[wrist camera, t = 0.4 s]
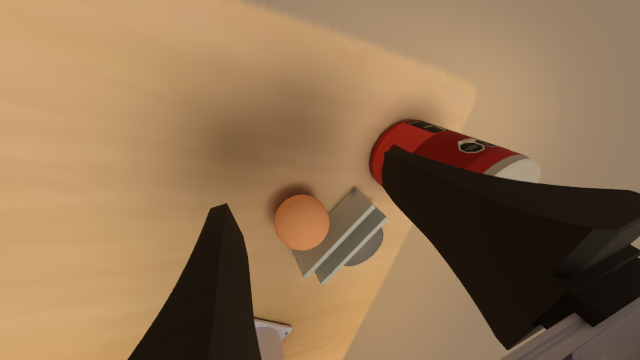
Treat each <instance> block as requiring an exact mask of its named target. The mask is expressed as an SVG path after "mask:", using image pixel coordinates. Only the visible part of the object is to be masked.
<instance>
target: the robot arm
mask: <svg viewBox="0 0 640 360" xmlns="http://www.w3.org/2000/svg"><path fill="white" fill-rule="evenodd" d="M382 187H383V188H384V190H385V191H386V192H387V194H388V195H389V197H390V198H391V199H392V201H393V202H394V203H395V204H396V205H397V206H398V208H399V209H400V210H401V211H402V212H403V213H404V214H405V215H406V216H407V217H408V218H409V219H410V220H411V221H412V222H413V223H414V224H415V225H416V227H417V228H419V230H420V231H421V232H422V233H423V234H424V235H425V236H426V237H427V238H428V239H429V241H430V242H431V243H432V244H433V245H434V247H435V248H436V249H437V250H438V252H439V253H440V254H441V256H442V257H443V258H444V259H445V261H446V262H447V263H448V265H449V266H450V267H451V269H452V270H453V272H454V273H455V274H456V276H457V277H458V278H459V280H460V281H461V283H462V284H463V286H464V287H465V289H466V290H467V292H468V293H469V295H470V296H471V298H472V299H473V301H474V302H475V304H476V305H477V307H478V309H479V310H480V312H481V313H482V315H483V317H484V318H485V320H486V321H487V323H488V325H489V326H490V328H491V330H492V331H493V333H494V335H495V337H496V338H497V339H498V340H499V341H500V343H502V345H503V346H504V347H505V348H506V349H507V350H510V349H511V348H513V347H514V346H516V345H517V344H519V343H520V342H522V341H524V340H525V339H527V338H529V337H530V336H532V335H534V334H535V333H537V332H538V331H540V330H541V329H543V328H545V329H546V331H544V332H543V333H541V334H539V335H538V336H536V337H535V338H533V339H532V340H530V341H529V342H527V343H525V344H524V345H522V346H521V347H519V348H517V349H516V350H514V351H513V352H511V353H509V354H508V355H506V356H505V357H503V358H501V359H500V360H640V258H638V256H640V250H639V249H637V248H635V247H634V246H632V245H630V244H631V243H632V242H633V241H634V240H636V239H637V238H638V237H639V236H640V194H639V193H637V192H633V191H630V190H615V189H598V188H579V187H569V186H558V185H548V184H540V183H533V182H526V181H519V180H513V179H507V178H502V177H497V176H492V175H487V174H483V173H478V172H474V171H470V170H467V169H463V168H459V167H456V166H452V165H449V164H445V163H442V162H439V161H436V160H433V159H430V158H427V157H423V156H420V155H417V154H414V153H411V152H408V151H404V150H401V149H397V148H395V149H392V150H389V151H386V152H384V164H383V179H382ZM291 331H292V327H291V326H288V325H283V324H278V323H273V322H268V321H263V320H258V319H254V315H253V306H252V295H251V284H250V273H249V263H248V255H247V251H246V246H245V242H244V237H243V235H242V233H241V231H240V229H239V227H238V225H237V223H236V221H235V219H234V217H233V215H232V213H231V211H230V209H229V207H228V205H227V203H226V204H223V205H220V206H216V207H213V208H211V209H210V211H209V213H208V216H207V218H206V221H205V224H204V226H203V229H202V231H201V233H200V236H199V238H198V240H197V243H196V245H195V247H194V249H193V252H192V254H191V256H190V258H189V260H188V262H187V264H186V266H185V268H184V270H183V272H182V274H181V276H180V278H179V280H178V282H177V284H176V285H175V287H174V289H173V291H172V292H171V294H170V296H169V298H168V299H167V301H166V303H165V304H164V306H163V308H162V309H161V311H160V312H159V314H158V316H157V317H156V319H155V320H154V322H153V323H152V325H151V326H150V328H149V329H148V331H147V332H146V334H145V335H144V337H143V338H142V340H141V341H140V342H139V344H138V345H137V347H136V348H135V350H134V351H133V353H132V354H131V356H130V357H129V358H128V360H285V358H284V354H283V350H282V345H281V341H282V340H283V339H284V338H285V337H286V336H287V335H288V334H289V333H290V332H291Z"/></svg>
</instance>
